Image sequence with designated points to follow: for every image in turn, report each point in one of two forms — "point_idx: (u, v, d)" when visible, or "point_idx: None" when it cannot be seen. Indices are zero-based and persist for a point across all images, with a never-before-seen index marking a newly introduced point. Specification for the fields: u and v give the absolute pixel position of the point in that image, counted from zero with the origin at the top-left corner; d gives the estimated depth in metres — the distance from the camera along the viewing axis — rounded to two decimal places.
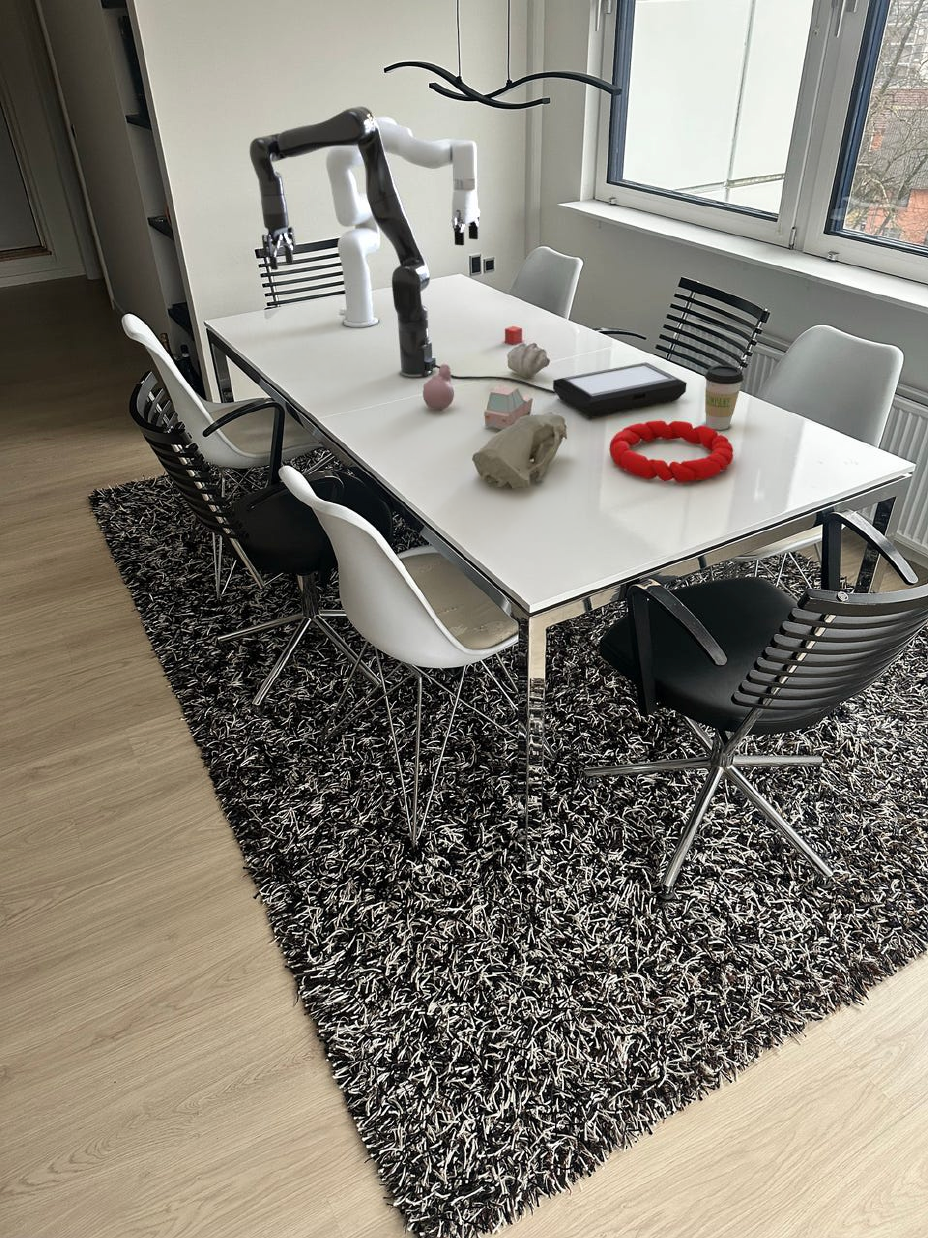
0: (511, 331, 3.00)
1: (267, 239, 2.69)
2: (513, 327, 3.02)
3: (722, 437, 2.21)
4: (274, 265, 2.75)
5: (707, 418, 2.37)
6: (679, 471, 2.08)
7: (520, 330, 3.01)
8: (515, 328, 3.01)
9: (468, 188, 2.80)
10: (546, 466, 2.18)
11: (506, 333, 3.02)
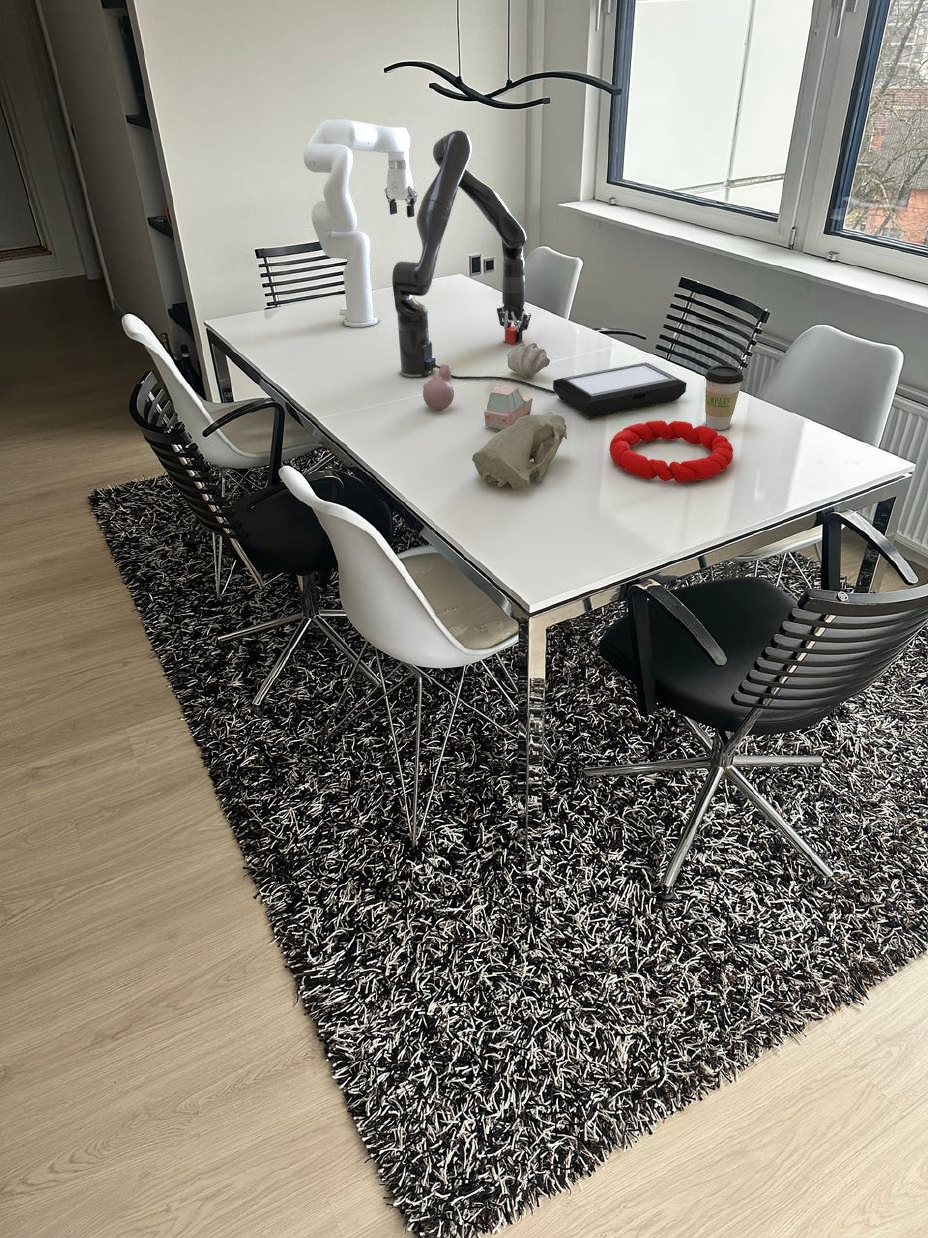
0: (511, 331, 3.00)
1: None
2: (513, 327, 3.02)
3: (722, 437, 2.21)
4: None
5: (707, 418, 2.37)
6: (679, 471, 2.08)
7: None
8: (515, 328, 3.01)
9: None
10: (546, 466, 2.18)
11: (506, 333, 3.02)
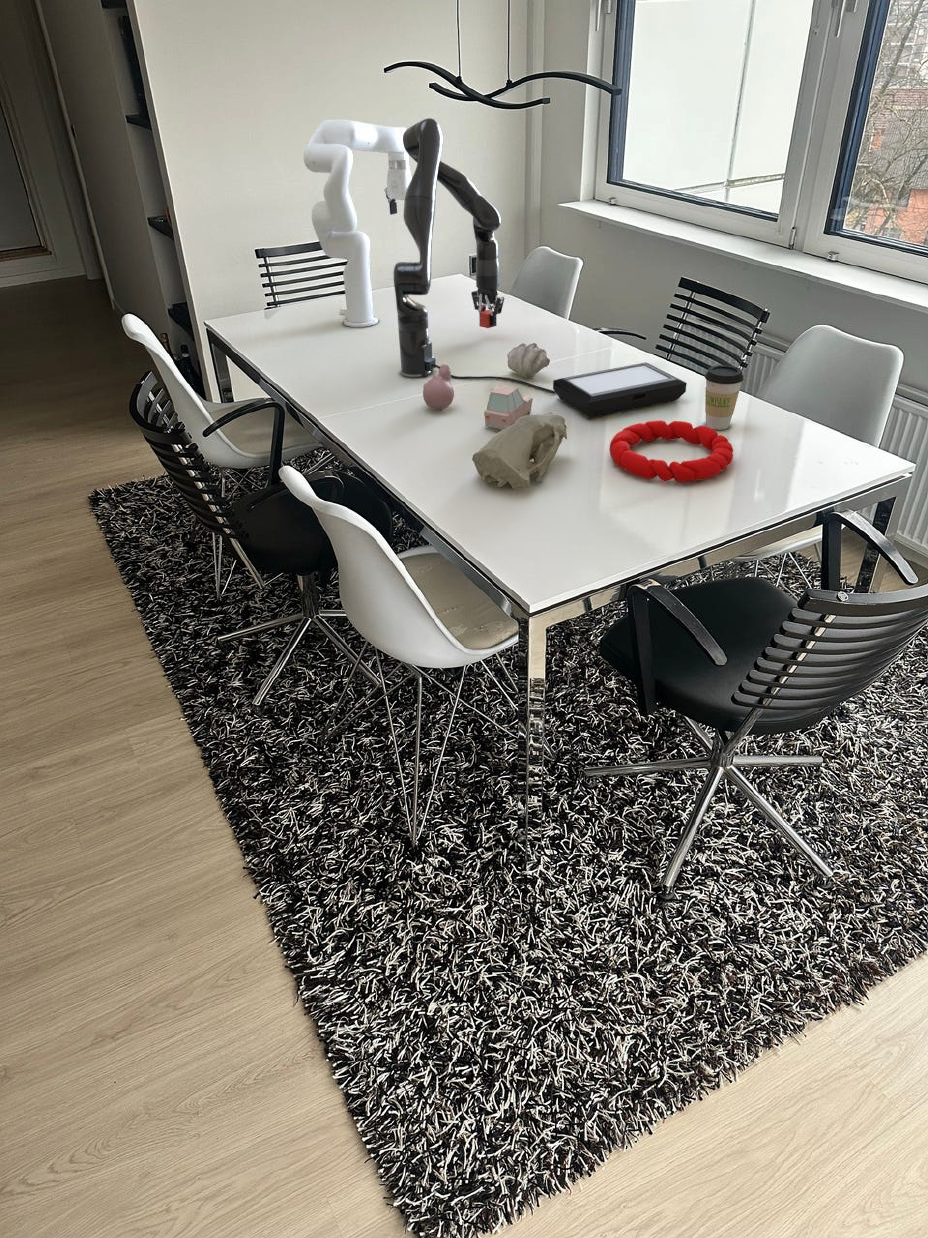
0: (485, 315, 3.00)
1: None
2: (487, 311, 3.02)
3: (722, 437, 2.21)
4: None
5: (707, 418, 2.37)
6: (679, 471, 2.08)
7: None
8: (489, 312, 3.02)
9: None
10: (546, 466, 2.18)
11: (481, 316, 3.02)
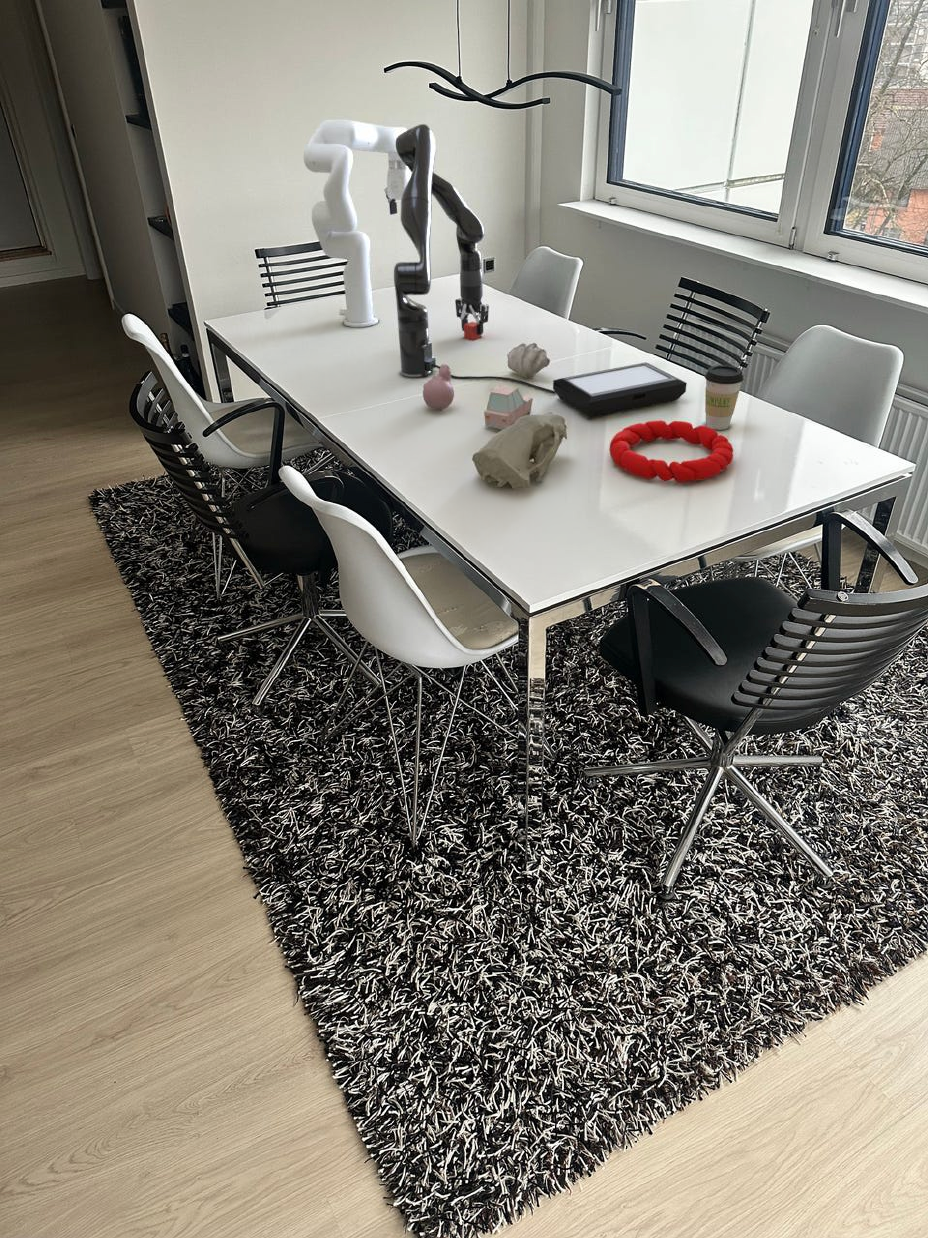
0: (470, 327, 3.05)
1: None
2: (472, 323, 3.07)
3: (722, 437, 2.21)
4: (462, 326, 3.10)
5: (707, 418, 2.37)
6: (679, 471, 2.08)
7: None
8: (474, 324, 3.07)
9: None
10: (546, 466, 2.18)
11: (465, 328, 3.07)
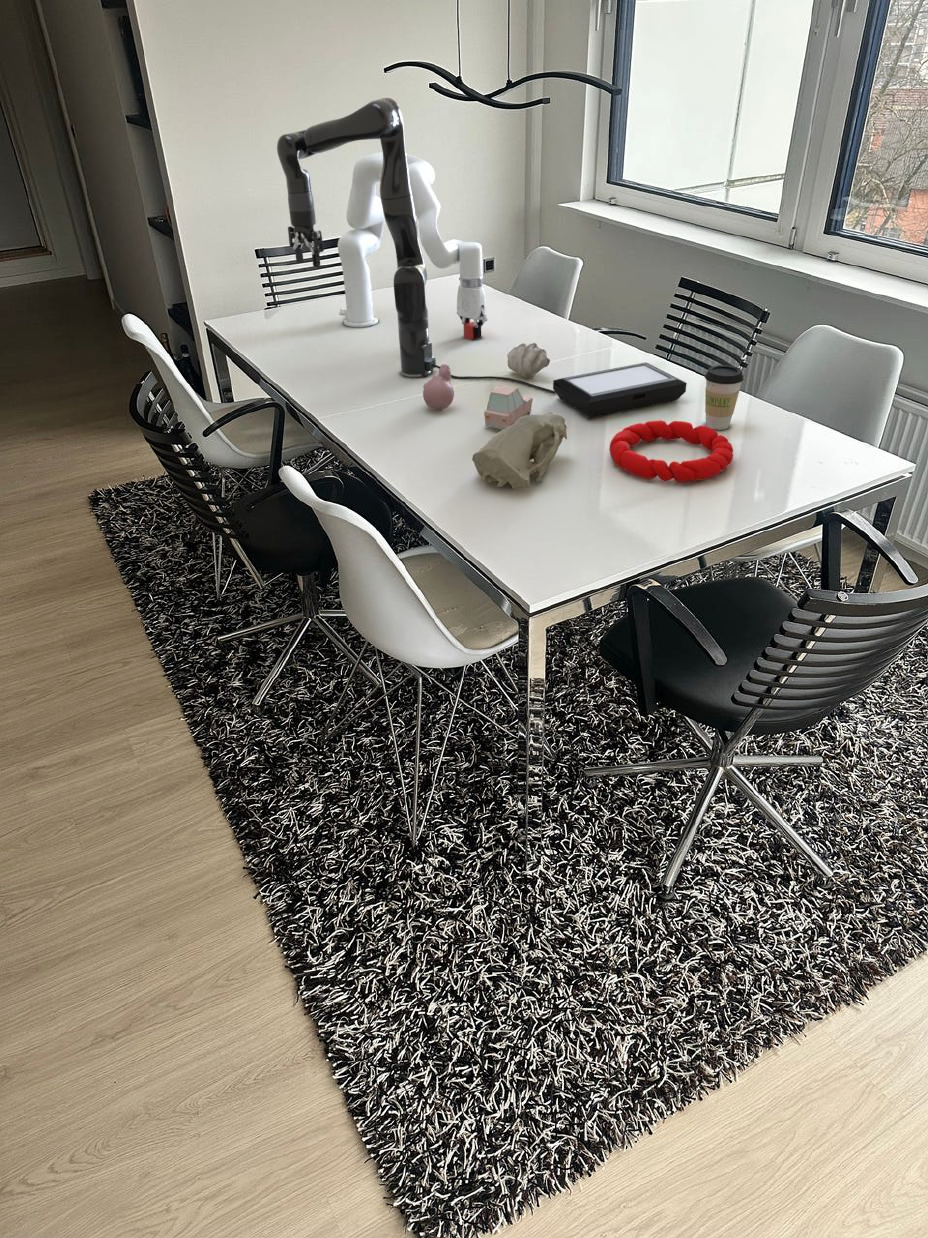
0: (470, 327, 3.05)
1: None
2: (472, 323, 3.07)
3: (722, 437, 2.21)
4: None
5: (707, 418, 2.37)
6: (679, 471, 2.08)
7: None
8: (474, 324, 3.07)
9: (482, 283, 2.99)
10: (546, 466, 2.18)
11: (465, 328, 3.07)
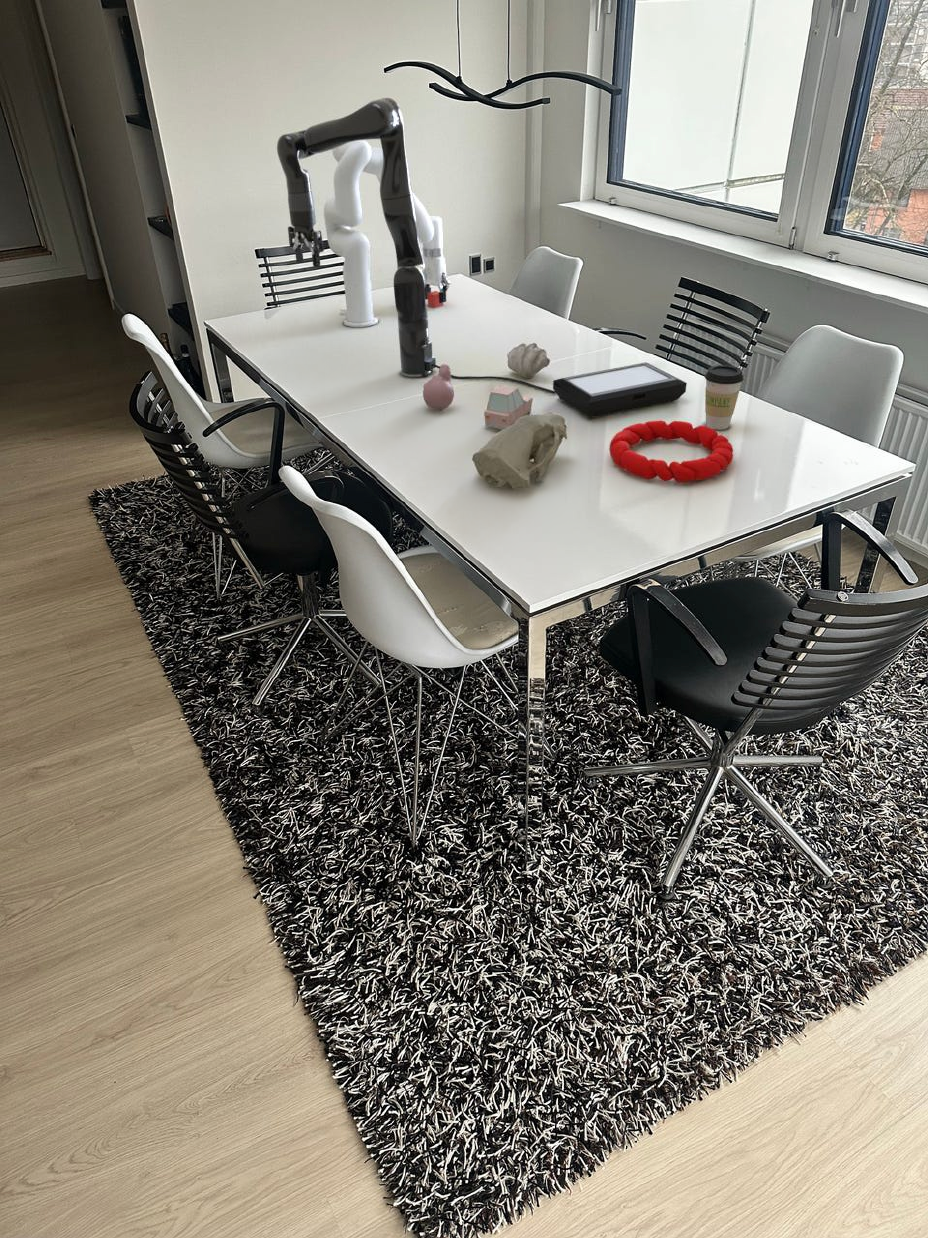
0: (432, 295, 3.40)
1: None
2: (434, 292, 3.42)
3: (722, 437, 2.21)
4: None
5: (707, 418, 2.37)
6: (679, 471, 2.08)
7: None
8: (436, 292, 3.42)
9: None
10: (546, 466, 2.18)
11: (428, 296, 3.42)
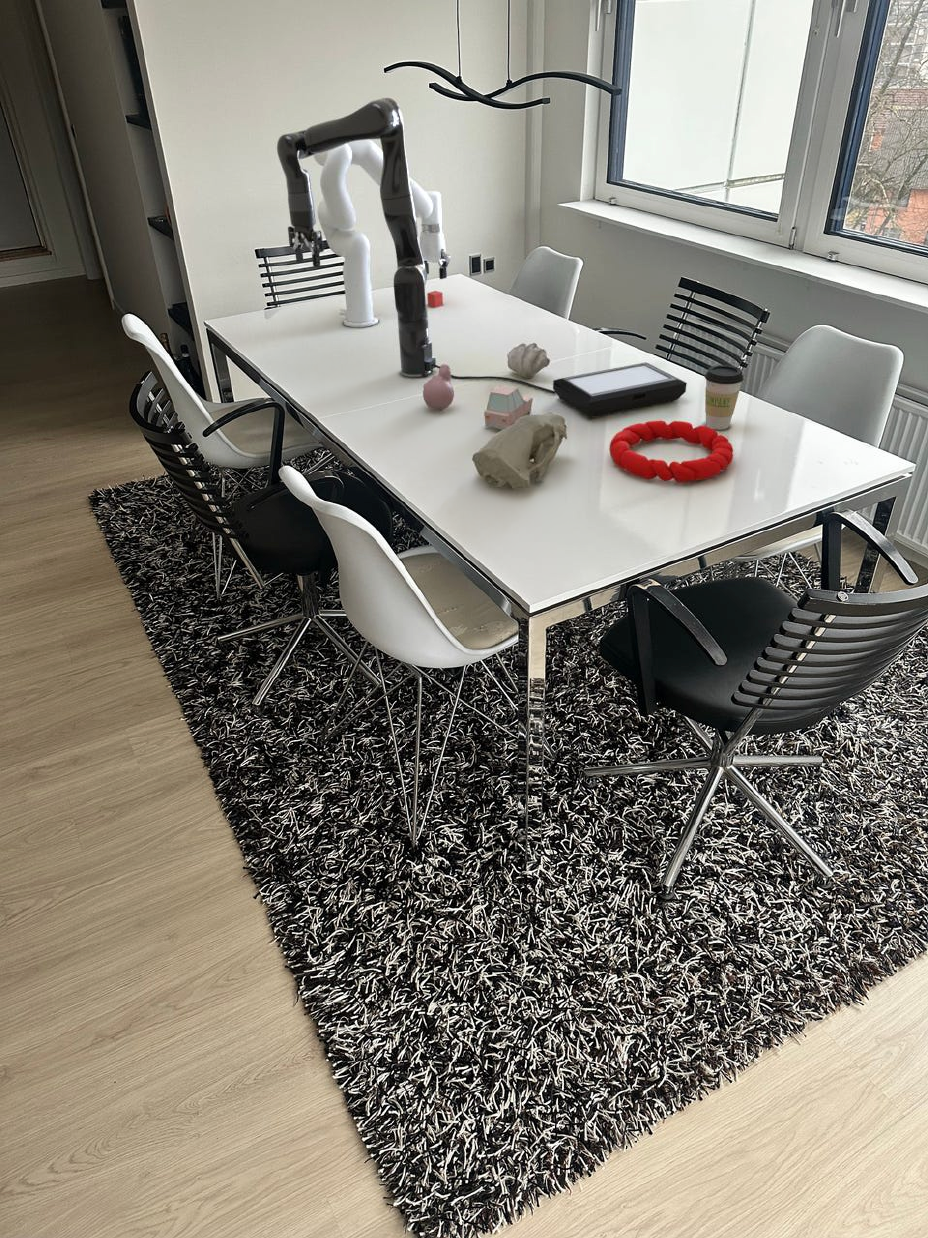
0: (432, 295, 3.40)
1: None
2: (434, 292, 3.42)
3: (722, 437, 2.21)
4: None
5: (707, 418, 2.37)
6: (679, 471, 2.08)
7: (440, 294, 3.42)
8: (436, 292, 3.42)
9: None
10: (546, 466, 2.18)
11: (428, 296, 3.42)
